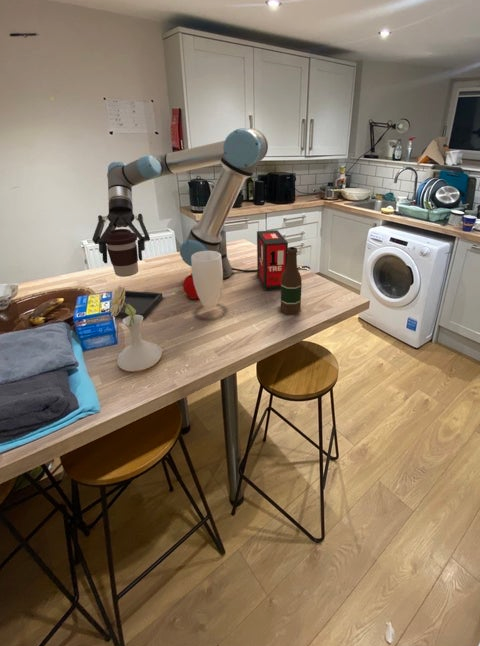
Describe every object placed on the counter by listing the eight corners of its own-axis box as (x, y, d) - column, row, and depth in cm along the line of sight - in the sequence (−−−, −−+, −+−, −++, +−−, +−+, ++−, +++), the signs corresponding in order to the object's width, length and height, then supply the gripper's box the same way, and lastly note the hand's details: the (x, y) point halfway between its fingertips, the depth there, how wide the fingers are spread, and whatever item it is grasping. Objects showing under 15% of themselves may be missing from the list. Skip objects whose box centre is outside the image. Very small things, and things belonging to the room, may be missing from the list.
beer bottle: (303, 306, 125) (306, 246, 115) (296, 317, 118) (299, 253, 108) (284, 302, 127) (285, 243, 117) (276, 312, 120) (277, 250, 110)
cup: (199, 322, 112) (193, 263, 104) (192, 308, 121) (186, 252, 112) (229, 315, 117) (226, 258, 108) (221, 302, 125) (217, 248, 117)
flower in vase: (123, 351, 97) (106, 273, 87) (165, 346, 100) (153, 270, 90) (111, 382, 86) (90, 296, 76) (158, 376, 88) (144, 293, 78)
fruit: (185, 291, 132) (182, 267, 128) (208, 289, 134) (206, 266, 130) (182, 302, 124) (179, 278, 120) (207, 300, 126) (205, 276, 122)
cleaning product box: (286, 288, 138) (287, 242, 130) (265, 290, 135) (265, 244, 127) (276, 272, 152) (277, 230, 144) (257, 274, 150) (256, 231, 141)
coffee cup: (148, 268, 121) (141, 228, 115) (132, 280, 112) (124, 237, 106) (121, 266, 121) (114, 226, 115) (104, 277, 112) (95, 235, 106)
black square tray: (163, 298, 126) (162, 292, 125) (144, 319, 113) (143, 313, 112) (124, 295, 127) (123, 290, 126) (100, 316, 113) (99, 310, 112)
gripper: (156, 207, 125) (160, 261, 118) (87, 209, 118) (87, 267, 111) (153, 195, 119) (157, 252, 112) (80, 197, 112) (80, 258, 105)
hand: (122, 260), depth 112 cm, fingers closed on coffee cup, 10 cm apart
